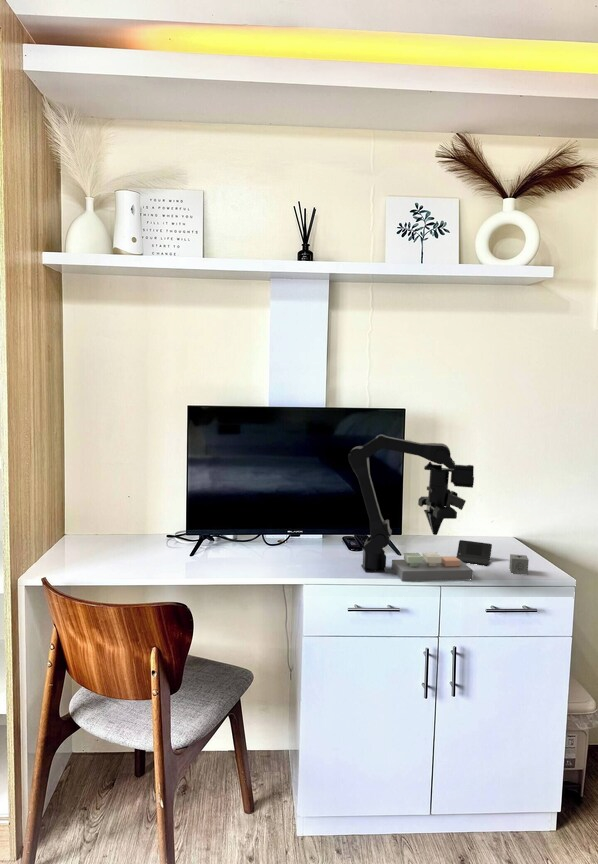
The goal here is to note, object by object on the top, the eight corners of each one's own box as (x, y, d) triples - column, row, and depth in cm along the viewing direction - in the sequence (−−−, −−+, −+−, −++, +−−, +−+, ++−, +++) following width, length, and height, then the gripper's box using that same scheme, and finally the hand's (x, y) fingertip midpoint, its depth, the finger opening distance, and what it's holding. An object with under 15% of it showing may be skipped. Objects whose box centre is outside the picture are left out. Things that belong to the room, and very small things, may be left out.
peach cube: (445, 575, 214) (445, 560, 213) (440, 570, 219) (440, 556, 218) (459, 575, 215) (460, 560, 214) (454, 570, 219) (454, 556, 219)
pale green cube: (407, 572, 212) (408, 557, 212) (403, 567, 217) (403, 553, 216) (422, 571, 213) (422, 557, 212) (417, 567, 217) (418, 552, 217)
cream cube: (426, 571, 213) (427, 556, 213) (421, 567, 218) (422, 552, 217) (440, 571, 214) (441, 556, 213) (436, 567, 218) (436, 552, 218)
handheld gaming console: (454, 559, 228) (459, 531, 233) (452, 566, 234) (457, 539, 239) (490, 567, 225) (494, 539, 230) (487, 575, 231) (491, 547, 236)
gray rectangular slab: (402, 581, 208) (402, 571, 208) (391, 568, 220) (392, 559, 220) (472, 579, 211) (472, 570, 211) (458, 567, 223) (458, 558, 223)
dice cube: (525, 570, 223) (526, 555, 222) (527, 575, 218) (528, 559, 217) (509, 569, 223) (510, 554, 223) (511, 574, 219) (512, 558, 218)
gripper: (475, 491, 205) (471, 543, 207) (452, 479, 223) (449, 527, 225) (439, 490, 203) (435, 542, 205) (419, 479, 222) (416, 526, 223)
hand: (434, 534), depth 215 cm, fingers closed
